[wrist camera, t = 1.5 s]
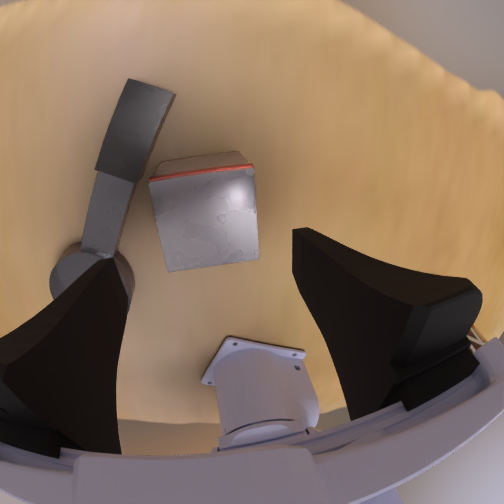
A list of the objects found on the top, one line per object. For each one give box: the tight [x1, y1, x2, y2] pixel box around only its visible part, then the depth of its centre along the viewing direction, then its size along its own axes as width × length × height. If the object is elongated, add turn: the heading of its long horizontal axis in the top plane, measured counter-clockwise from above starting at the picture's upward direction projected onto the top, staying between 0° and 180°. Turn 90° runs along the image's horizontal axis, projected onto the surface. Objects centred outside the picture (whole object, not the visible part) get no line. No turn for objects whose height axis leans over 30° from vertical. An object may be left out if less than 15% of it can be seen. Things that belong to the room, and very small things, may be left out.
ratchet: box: [49, 78, 176, 314], centre depth 16 cm, size 7×19×5 cm, turn 153°
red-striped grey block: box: [149, 151, 259, 272], centre depth 17 cm, size 5×5×6 cm
